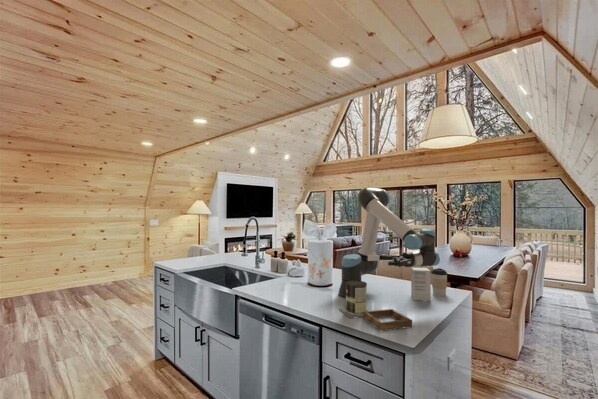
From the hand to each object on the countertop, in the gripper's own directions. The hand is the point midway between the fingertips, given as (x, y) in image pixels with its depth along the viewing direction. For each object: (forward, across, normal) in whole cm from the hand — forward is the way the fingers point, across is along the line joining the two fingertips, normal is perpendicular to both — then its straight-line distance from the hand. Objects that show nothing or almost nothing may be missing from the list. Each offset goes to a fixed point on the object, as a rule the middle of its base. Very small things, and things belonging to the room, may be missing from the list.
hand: (374, 260), depth 153 cm
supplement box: (-37, +13, -25) cm, 47 cm away
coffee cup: (-53, +17, -25) cm, 61 cm away
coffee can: (+10, 0, -25) cm, 27 cm away
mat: (+10, 0, -25) cm, 27 cm away
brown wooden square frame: (+2, -15, -25) cm, 29 cm away
